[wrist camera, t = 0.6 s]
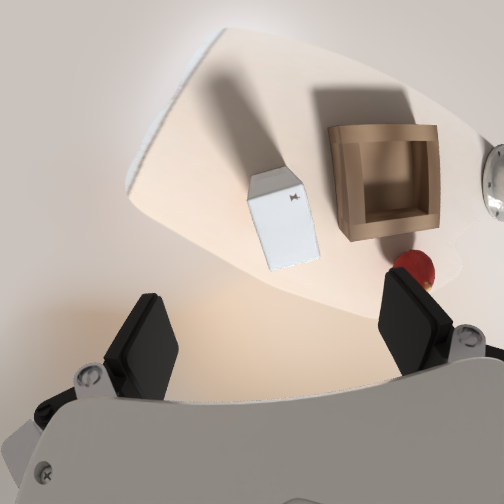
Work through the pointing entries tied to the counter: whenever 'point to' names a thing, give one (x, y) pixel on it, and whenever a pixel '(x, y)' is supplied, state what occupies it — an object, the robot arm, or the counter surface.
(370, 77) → the counter surface
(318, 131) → the counter surface
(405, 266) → the onion
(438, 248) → the counter surface
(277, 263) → the skincare box
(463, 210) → the counter surface
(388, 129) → the wooden tray
